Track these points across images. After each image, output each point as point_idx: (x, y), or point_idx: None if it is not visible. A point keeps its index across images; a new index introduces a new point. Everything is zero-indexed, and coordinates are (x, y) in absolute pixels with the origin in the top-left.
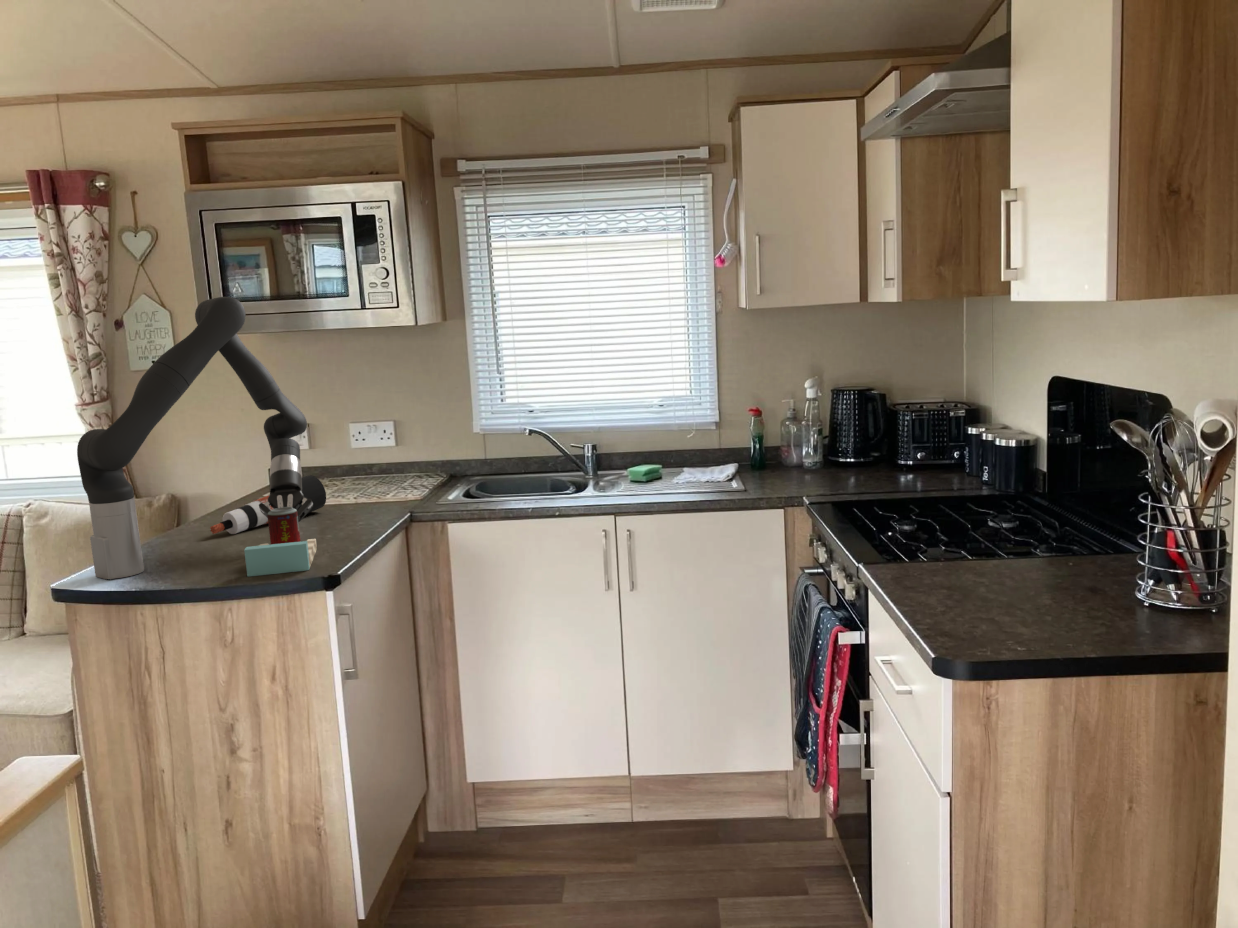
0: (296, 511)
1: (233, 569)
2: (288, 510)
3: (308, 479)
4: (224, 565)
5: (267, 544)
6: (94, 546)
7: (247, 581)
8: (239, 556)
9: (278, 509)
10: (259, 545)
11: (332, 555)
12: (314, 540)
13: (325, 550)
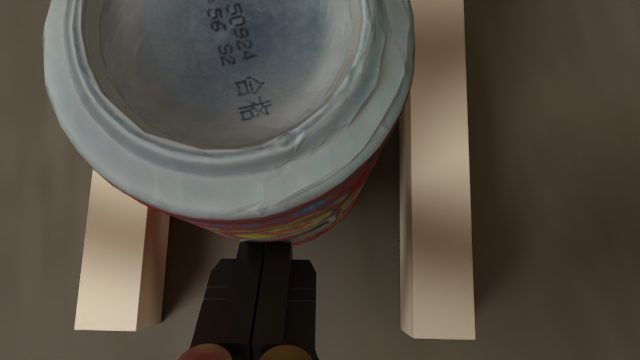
0: (52, 2)
1: (544, 22)
2: None
3: None
4: (620, 136)
5: (413, 299)
6: None
7: None
8: (584, 338)
9: (281, 129)
10: (468, 293)
11: (28, 96)
12: (86, 269)
13: (59, 246)
